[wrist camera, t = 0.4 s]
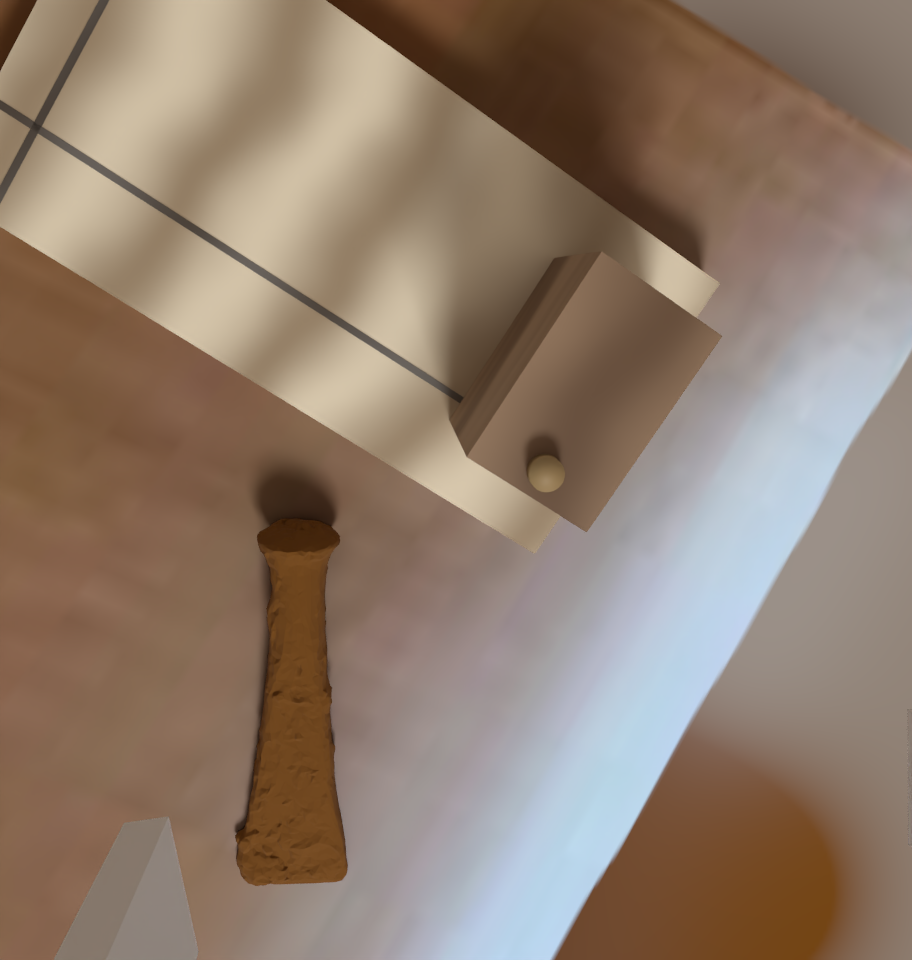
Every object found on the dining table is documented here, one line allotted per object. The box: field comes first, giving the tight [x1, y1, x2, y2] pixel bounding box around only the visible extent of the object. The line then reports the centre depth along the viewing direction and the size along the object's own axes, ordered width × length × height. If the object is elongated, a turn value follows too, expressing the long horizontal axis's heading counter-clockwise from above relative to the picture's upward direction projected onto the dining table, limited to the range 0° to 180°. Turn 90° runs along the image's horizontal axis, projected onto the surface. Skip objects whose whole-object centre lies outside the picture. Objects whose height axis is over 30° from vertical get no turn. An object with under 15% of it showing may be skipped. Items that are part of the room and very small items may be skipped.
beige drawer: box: [449, 251, 722, 532], centre depth 33 cm, size 5×8×9 cm, turn 147°
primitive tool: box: [235, 518, 348, 886], centre depth 40 cm, size 19×6×4 cm, turn 179°
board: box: [0, 0, 720, 554], centre depth 36 cm, size 28×14×2 cm, turn 57°
